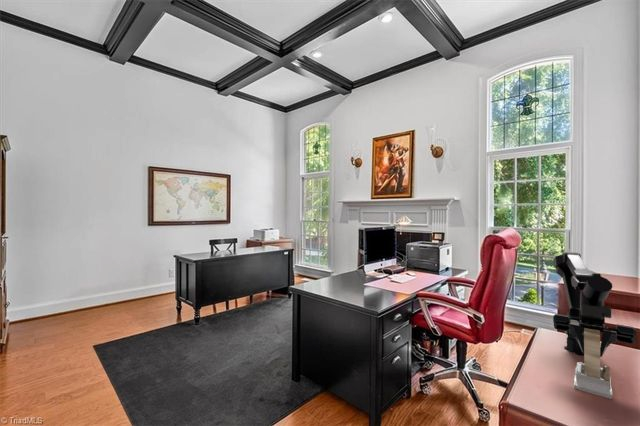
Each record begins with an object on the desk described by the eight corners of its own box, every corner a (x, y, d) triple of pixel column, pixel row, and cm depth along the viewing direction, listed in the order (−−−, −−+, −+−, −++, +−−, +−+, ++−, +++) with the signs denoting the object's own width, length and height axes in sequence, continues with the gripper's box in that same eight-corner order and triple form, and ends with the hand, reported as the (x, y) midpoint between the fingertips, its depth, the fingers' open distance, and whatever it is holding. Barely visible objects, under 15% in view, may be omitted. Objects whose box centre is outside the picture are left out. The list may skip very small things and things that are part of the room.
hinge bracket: (575, 369, 98) (575, 353, 98) (610, 378, 93) (609, 361, 93) (573, 388, 88) (573, 370, 88) (612, 399, 82) (612, 380, 82)
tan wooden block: (584, 370, 93) (584, 327, 93) (600, 374, 91) (599, 330, 91) (584, 376, 90) (584, 332, 90) (600, 380, 87) (600, 335, 87)
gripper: (553, 289, 99) (550, 333, 91) (635, 299, 87) (640, 351, 79) (555, 307, 105) (553, 350, 97) (632, 319, 93) (637, 369, 85)
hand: (592, 354), depth 89 cm, fingers closed on tan wooden block, 3 cm apart
